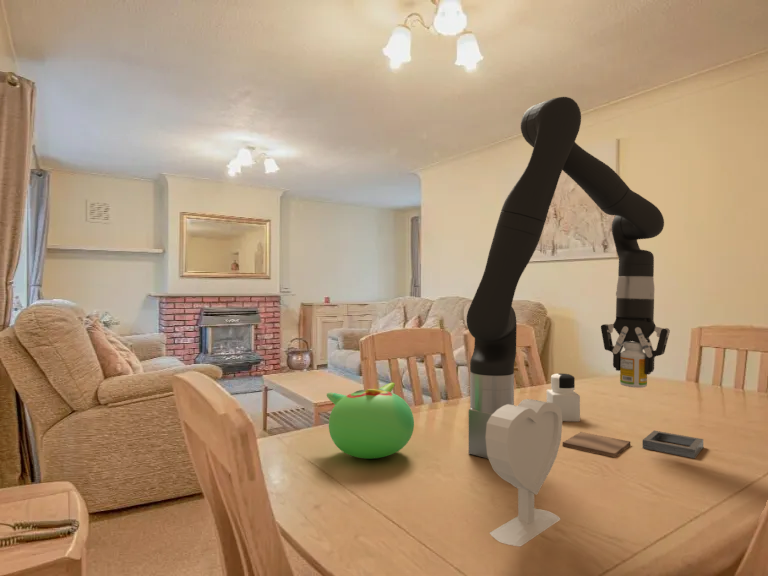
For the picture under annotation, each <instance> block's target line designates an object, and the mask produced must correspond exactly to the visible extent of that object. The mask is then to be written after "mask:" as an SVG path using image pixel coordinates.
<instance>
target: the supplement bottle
mask: <svg viewBox="0 0 768 576" xmlns="http://www.w3.org/2000/svg"><path fill="white" fill-rule="evenodd" d="M623 348H624V351H621V355H620V371H619V373H620V374H619V383H620V385H621V386H624V387H628V388H635V389H636V388H640V389H641V388H646V387H647V385H648V374H645V357H647V356H646V353H645V351H644V348H643V347H642V345H641V343H637V342H633V341H630V342H624V347H623Z"/></svg>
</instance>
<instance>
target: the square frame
mask: <svg viewBox="0 0 768 576" xmlns="http://www.w3.org/2000/svg"><path fill="white" fill-rule="evenodd" d="M703 448H704V438H699V437H693V436H688V435H681V434H676V433H669V432H666V431H665V432H664V431H658V430H653V431H651V433H649V434H648V435H646V437H644V438H642V449H645V450H650V451H656V452H660V453H664V454H670V455H675V456H681V457H684V458H685V457H686V458H691V459H696V458H697V456H698V455H699V454H700V452H701V451H702V450H703Z"/></svg>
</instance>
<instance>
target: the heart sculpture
mask: <svg viewBox="0 0 768 576" xmlns="http://www.w3.org/2000/svg"><path fill="white" fill-rule="evenodd" d="M562 428H563V421H562V412H561V409H560V407H559V406H558V405H556V404H554V403H549V402H547V401H543V400H538V399H533V398H526V399H525V398H524V399H522V400H521V401H520V402H519V403H518V405H515V404H514V405H509V404H507V405H504V406H502V407H501V408H499V409H498V410H496V411H495V412H494V413H493V414H492V415H491V416H490V418H489V420H488V422H487V426H486V437H485V438H486V448H487V456H488V461H489V463H490V465H491V468H492V470H493V471H494V473H496V475H498V477H500V478H501V479H502V480H503V481H505V482H507V483H509V484H511V486H512V487H515V488H516V489H517V512H518V513H517V516H515V517H514V518H512V519H510V520H508V521H507V522H505V523H503V524H502V525H500V526H499V527H497V528H494V530H492V531H490V532H489V535H491V537H492V538H494V540H496V541H497V542H499V543H502V544H504V545H509V546H514V547H523V545H525V544H527V543H528V542H530V541H531V540H532V539H534V538H535V537H537V536H538V535H540V534H541V533H543V532H544V531H546V530H547V529H549V528H551V527H552V526H553V525H554V524H556V523H557V522H559V521H560V520H561V518H560V517H559V515H557V514H555V513H553V512H551V511H549V510H546V509H540V508H535V495H536V496H537V495H538V493H539V492H540V490H541V488H542V485H544V483H545V481H546V479H547V478H548V475H549V474H550V472H551V470H552V467H553V466H554V464H555V461H556V459H557V455H558V454H559V453H558V452H559V448H560V445H561V440H562V432H563V431H562V430H563V429H562Z"/></svg>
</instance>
